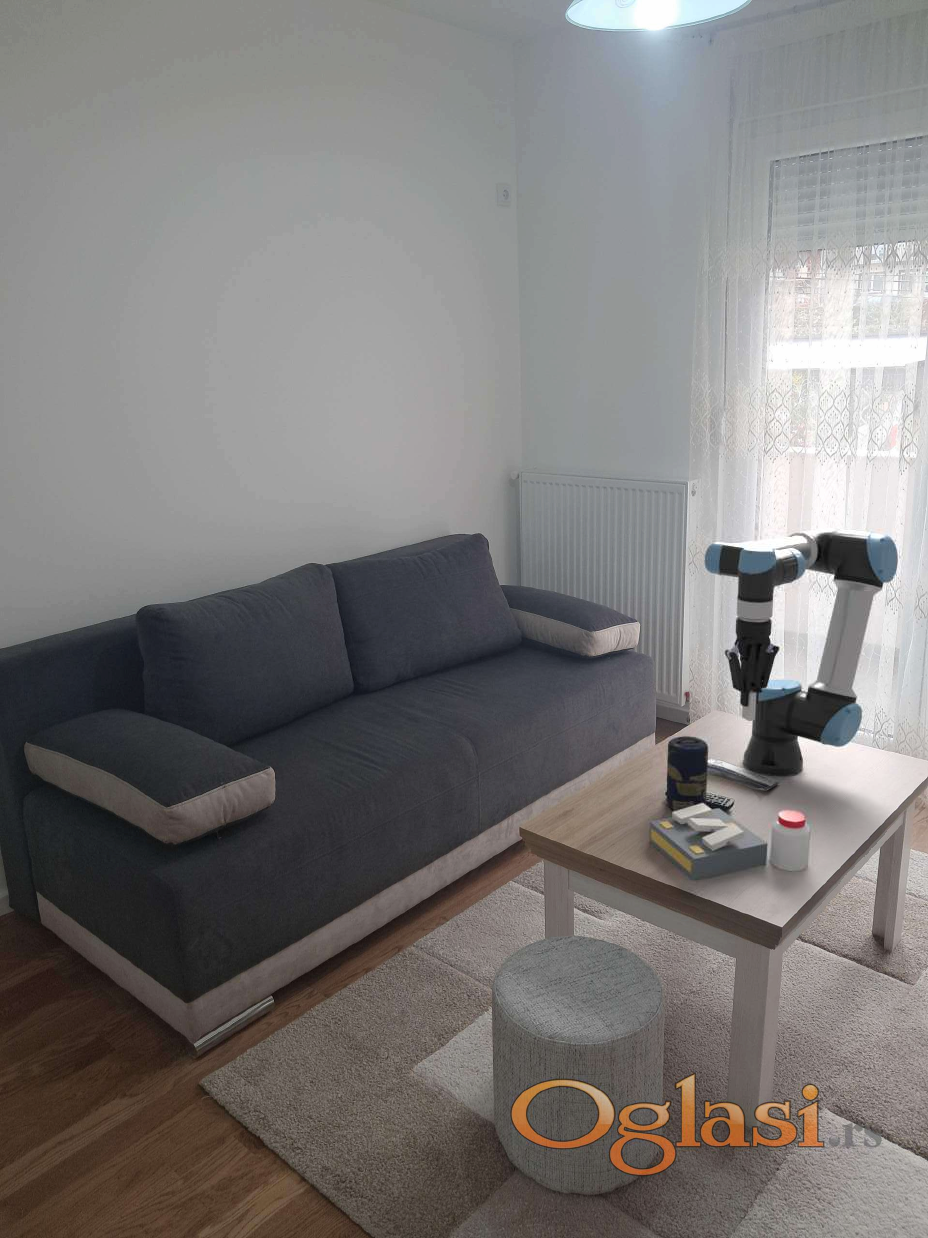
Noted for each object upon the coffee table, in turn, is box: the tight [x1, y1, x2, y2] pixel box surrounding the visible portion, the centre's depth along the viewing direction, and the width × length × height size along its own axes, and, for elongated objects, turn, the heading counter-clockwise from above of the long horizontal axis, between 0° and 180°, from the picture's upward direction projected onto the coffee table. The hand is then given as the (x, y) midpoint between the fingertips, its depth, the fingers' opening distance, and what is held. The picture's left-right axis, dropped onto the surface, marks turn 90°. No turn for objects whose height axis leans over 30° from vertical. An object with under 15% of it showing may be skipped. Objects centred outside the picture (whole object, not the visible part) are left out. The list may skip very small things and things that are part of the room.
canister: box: [665, 735, 709, 811], centre depth 226 cm, size 10×10×18 cm
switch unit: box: [649, 807, 769, 881], centre depth 206 cm, size 18×18×5 cm
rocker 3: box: [702, 824, 744, 851], centre depth 200 cm, size 8×4×2 cm, turn 109°
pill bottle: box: [769, 809, 811, 872], centre depth 201 cm, size 8×8×11 cm
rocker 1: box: [671, 803, 713, 825], centre depth 211 cm, size 8×4×2 cm, turn 109°
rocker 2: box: [687, 818, 728, 833], centre depth 205 cm, size 8×4×2 cm, turn 110°
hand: (748, 718), depth 212 cm, fingers closed
